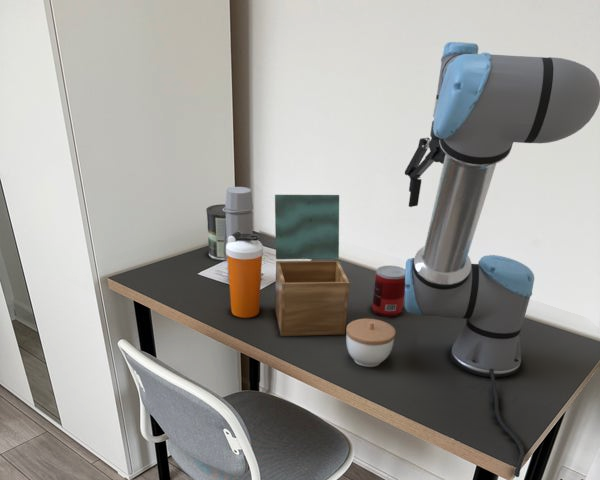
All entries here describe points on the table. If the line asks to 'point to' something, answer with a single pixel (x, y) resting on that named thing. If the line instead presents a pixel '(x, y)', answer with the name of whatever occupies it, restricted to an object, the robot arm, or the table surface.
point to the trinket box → (369, 341)
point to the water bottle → (238, 213)
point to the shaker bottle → (244, 273)
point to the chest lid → (307, 226)
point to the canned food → (389, 290)
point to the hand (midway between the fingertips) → (433, 212)
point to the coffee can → (216, 231)
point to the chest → (311, 298)
